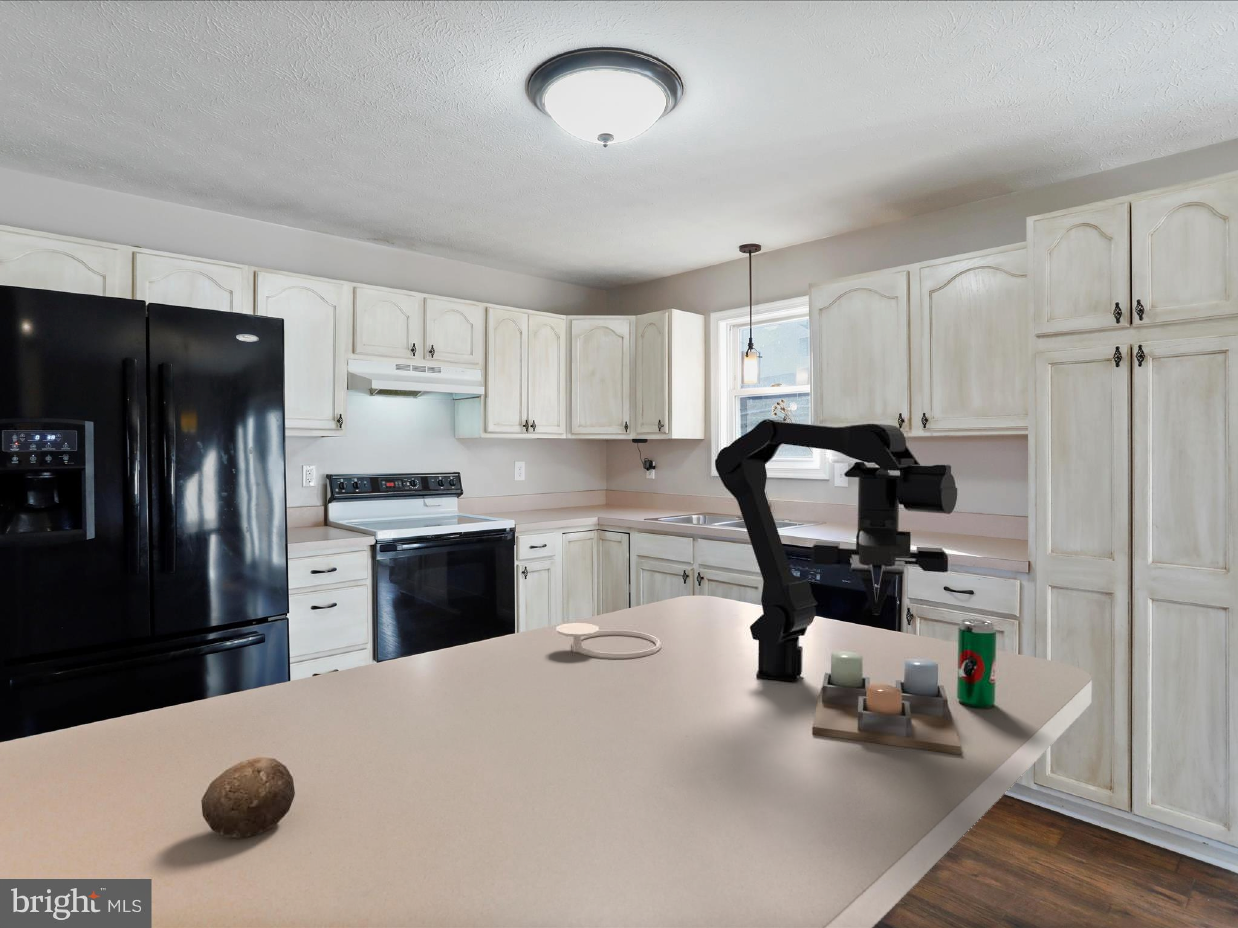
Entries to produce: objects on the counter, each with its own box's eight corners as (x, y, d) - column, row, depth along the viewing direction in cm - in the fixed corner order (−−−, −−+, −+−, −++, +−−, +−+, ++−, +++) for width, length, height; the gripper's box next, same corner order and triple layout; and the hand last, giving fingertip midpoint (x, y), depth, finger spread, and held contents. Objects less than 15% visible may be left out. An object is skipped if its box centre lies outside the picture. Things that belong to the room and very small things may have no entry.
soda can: (999, 710, 102) (1001, 627, 102) (961, 707, 103) (963, 625, 103) (989, 698, 107) (990, 619, 107) (952, 695, 108) (954, 617, 108)
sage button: (829, 685, 103) (830, 658, 103) (831, 676, 107) (831, 650, 107) (862, 689, 101) (862, 661, 101) (862, 679, 106) (862, 653, 105)
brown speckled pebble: (231, 768, 75) (237, 733, 72) (303, 794, 76) (313, 760, 73) (181, 840, 68) (186, 804, 65) (262, 868, 69) (270, 834, 66)
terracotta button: (865, 723, 93) (866, 692, 93) (866, 711, 97) (866, 682, 97) (902, 728, 91) (902, 696, 91) (901, 716, 95) (901, 686, 95)
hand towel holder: (678, 630, 130) (573, 642, 122) (678, 654, 131) (573, 667, 122) (636, 610, 146) (541, 619, 137) (636, 632, 146) (540, 642, 137)
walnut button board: (812, 734, 93) (812, 708, 93) (820, 693, 109) (821, 671, 109) (960, 754, 87) (961, 726, 87) (947, 708, 103) (947, 685, 103)
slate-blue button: (904, 694, 100) (905, 665, 99) (903, 684, 104) (903, 656, 104) (938, 697, 98) (939, 669, 98) (936, 688, 102) (936, 660, 102)
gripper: (807, 510, 101) (805, 620, 101) (952, 516, 95) (950, 633, 95) (814, 505, 112) (813, 604, 112) (945, 509, 105) (943, 615, 105)
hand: (876, 614), depth 106 cm, fingers closed
